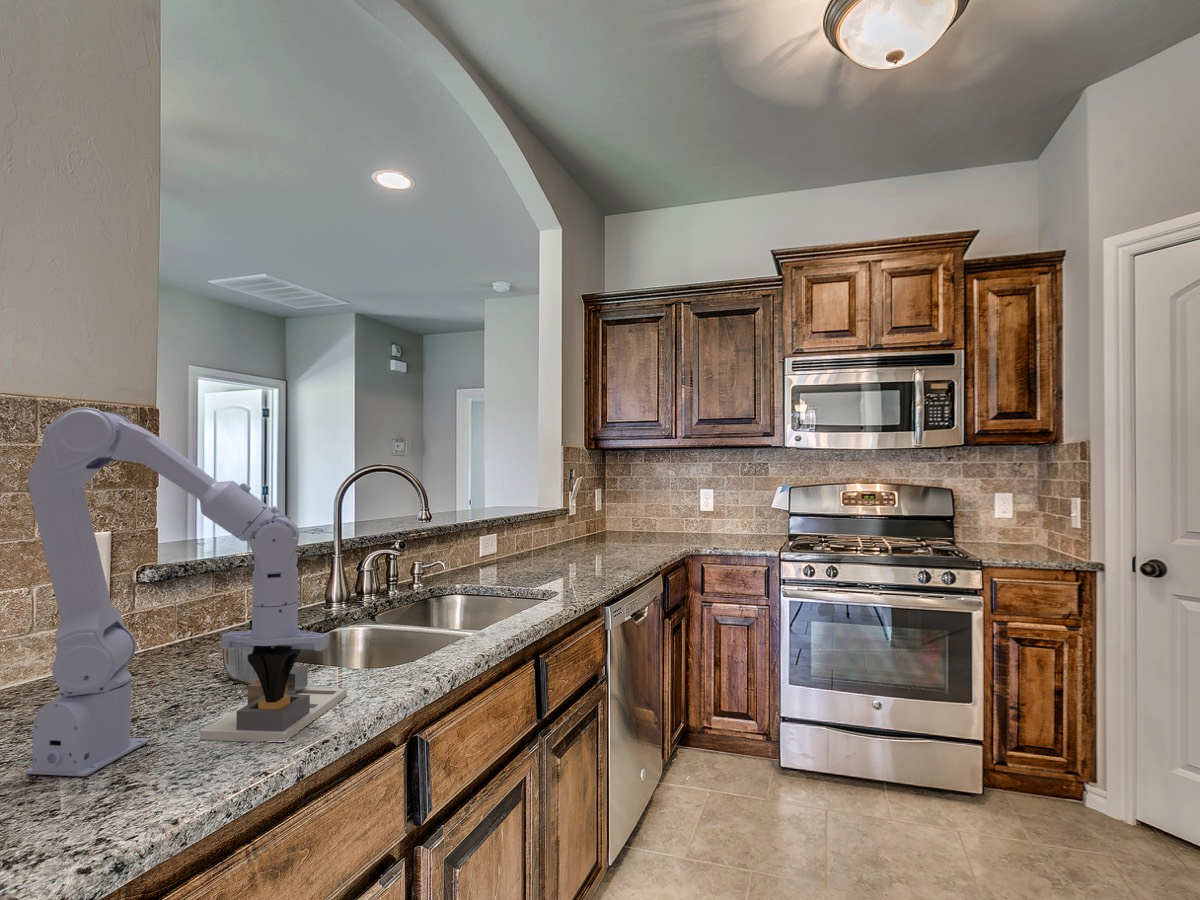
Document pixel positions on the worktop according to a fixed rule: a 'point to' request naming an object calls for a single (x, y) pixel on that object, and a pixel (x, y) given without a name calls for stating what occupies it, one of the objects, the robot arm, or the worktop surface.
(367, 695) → the worktop surface
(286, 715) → the panel
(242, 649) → the tin
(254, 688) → the small cardboard carton
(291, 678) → the grey slider
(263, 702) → the orange button
